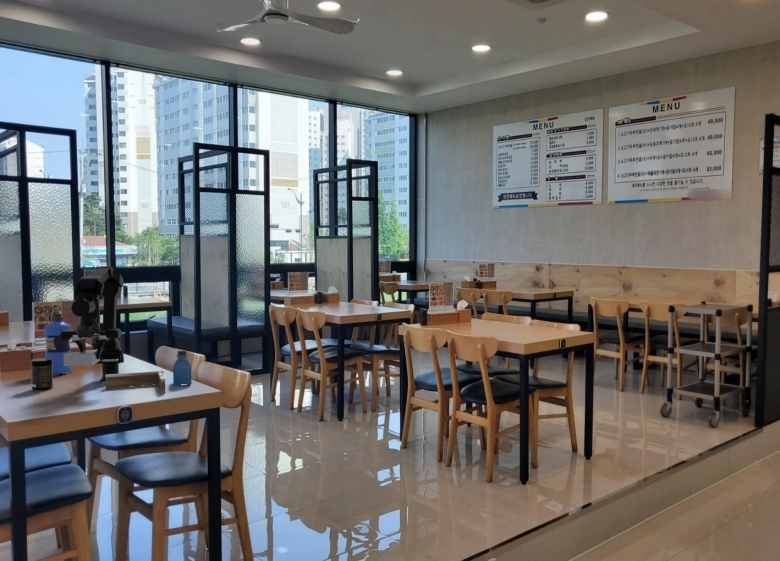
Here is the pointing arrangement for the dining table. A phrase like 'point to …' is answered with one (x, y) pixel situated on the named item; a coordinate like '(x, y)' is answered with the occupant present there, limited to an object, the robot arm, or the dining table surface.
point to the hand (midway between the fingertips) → (91, 359)
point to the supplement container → (42, 374)
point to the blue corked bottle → (182, 369)
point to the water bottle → (57, 343)
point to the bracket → (81, 358)
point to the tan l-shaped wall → (135, 379)
